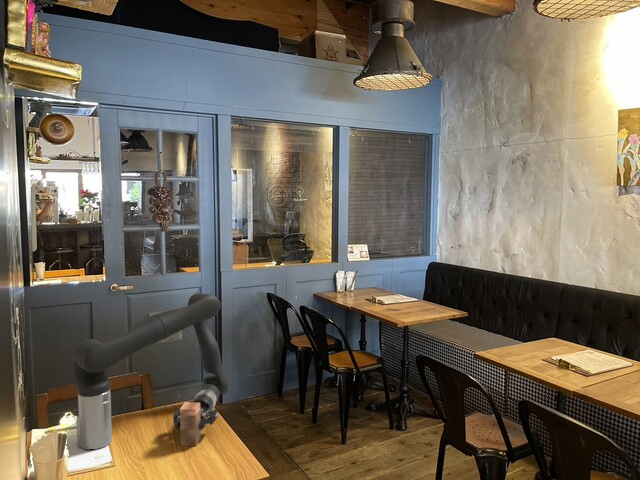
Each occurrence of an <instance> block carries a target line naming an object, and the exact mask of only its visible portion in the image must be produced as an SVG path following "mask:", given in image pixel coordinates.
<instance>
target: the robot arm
mask: <svg viewBox="0 0 640 480" xmlns="http://www.w3.org/2000/svg"><path fill="white" fill-rule="evenodd" d="M220 309H221V301H220V300H219V298H218V297H217V296H216V295H213V294H211V293H210V294H209V293H203V292H202V293H201V292H200V293H199V292H198V293H194V294H192V295H191V296H190V297H189V299H188V301H187V306H184V307H181V308H176V309H170V310H165V311H162V312H158V313H156V314H152V315H150V316H148V317H146V318H143V319H141V320H140V321H138V322H136V324H134V325H133V326H132V327H131V328H130V329H129V330H128V331H127V332H126V333H125V334H122V335H121V336H119V337H116V338H114V339H112V340H109V341H105V342H102V341H99V340H97V339H91V338H89V339H84V340H82V341H81V342H80V343H78V344H77V345H76V347H75V349H74V351H73V355H72V356H73V357H72V359H73V361H72V362H73V373H74V382H75V385H76V387H77V398H78V399H77V401H78V402H77V403H78V416H77V417H76V418H75V420H76V421H75V422H76V442H77V443H76V444H77V448H82V449H83V450H85V449H95V450H99V449H98V448H100V449H102V447H103V448H105V447H107V446H108V445H110V444H111V443H112V442H113V429H112V428H113V427H112V405H111V402H112V401H111V400H112V398H111V381H110V379H109V377H108V376H107V373H106V370H108V369H110V368H112V367H114V366H115V365H117V364H118V363H120V362H121V361H123V360H125V359H126V358H128V357H130V356H132V355H134V354H136V353H139V352H141V351H144V349H147V348H149V347H151V346H153V345H155V344H158V343H159V342H162V341H163V340H166V339H167V338H170V337H172V336H174V335H176V334H178V333H179V332H182V331H184V330H185V329H187V328H189V327H191V326H193V329H194V331H195V335H196V339H197V342H198V347H199V351H200V357H201V362H202V363H201V364H202V369H203V371H204V372H205V373H210V374H213V375H212V376H211V375H210V376H206V377H204V378H203V379H202V380H201V388H200V391H199V392H198V393H197V394H196V395H195V396H194V398H193V400H192V401H191V402H195V403H200V414H201V421H200V423H199V430H201V431H203V430H204V428H206V426H207V425H208V424H209V425H213V424H215V422H216V420H217V419H218V417H219V413H218V411H219V410H218V409H217V408H216V409H214V408H215V406H216V403H217V401H218V400H219V397H220V395H225V394H227V393H228V392H229V391H230V385H231V383H230V380H229V377H228V375H227V373H226V371H225V369H224V366H223V363H222V357H221V351H220V347H219V345H218V342H217V340H216V338H215V335H214V334H213V332H212V329H211V327H210V324H209V323H210V322H209V320H211V319H213V318H214V317H216V316H217V315H218V314H219V312H220ZM180 408H181V407H179V408H177V409H176V410H175V412H174V414H173V417H172V418H173V421H172V422H173V425H174V429H175V430H179V429H180ZM104 446H105V447H104Z"/></svg>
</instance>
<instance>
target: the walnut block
mask: <svg viewBox="0 0 640 480" xmlns="http://www.w3.org/2000/svg"><path fill="white" fill-rule="evenodd" d="M179 408H180V428H179V429H180V431H179V432H180V446H183V447H184V446H186V447H197V446H198V444H199V442H200V440H201V439H202V430H199V423H200V421H201V414H200V403H195V402H192V401H190V402H189V401H188V402H187V401H184V403H183V404H182V406H181V407H179Z"/></svg>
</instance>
